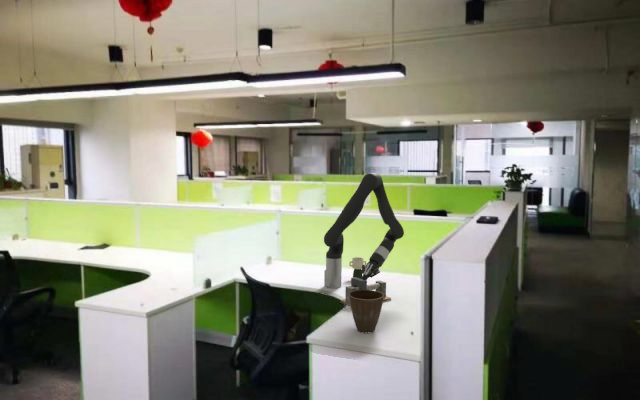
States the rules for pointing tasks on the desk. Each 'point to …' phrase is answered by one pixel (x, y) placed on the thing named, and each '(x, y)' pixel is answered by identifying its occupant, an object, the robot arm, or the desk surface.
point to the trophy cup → (357, 266)
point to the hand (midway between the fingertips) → (361, 281)
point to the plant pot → (366, 309)
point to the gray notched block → (359, 283)
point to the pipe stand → (379, 287)
